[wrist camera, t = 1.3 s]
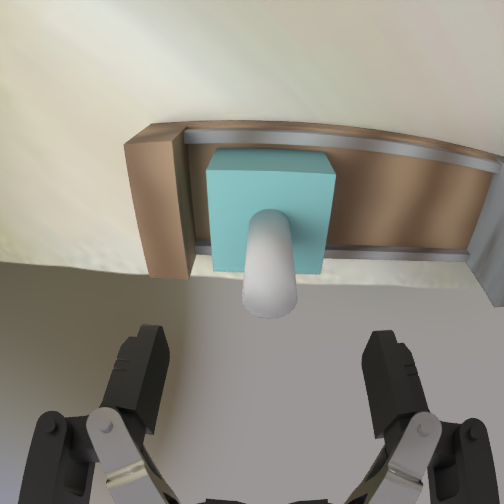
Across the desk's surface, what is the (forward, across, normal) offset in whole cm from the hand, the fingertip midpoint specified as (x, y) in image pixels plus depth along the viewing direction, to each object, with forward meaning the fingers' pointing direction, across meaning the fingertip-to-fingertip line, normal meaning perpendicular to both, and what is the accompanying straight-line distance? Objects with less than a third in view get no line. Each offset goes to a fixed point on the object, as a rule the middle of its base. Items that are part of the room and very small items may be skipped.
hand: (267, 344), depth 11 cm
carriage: (+12, 0, 0) cm, 13 cm away
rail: (+14, -7, 0) cm, 16 cm away
